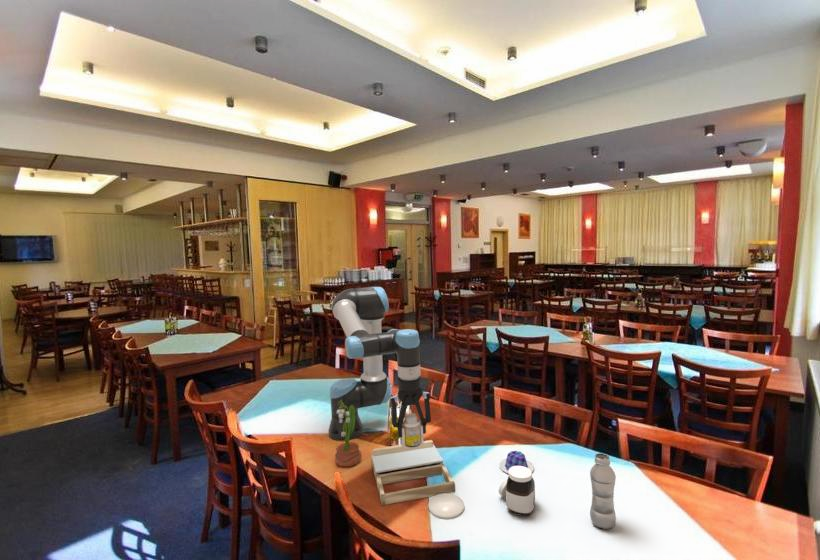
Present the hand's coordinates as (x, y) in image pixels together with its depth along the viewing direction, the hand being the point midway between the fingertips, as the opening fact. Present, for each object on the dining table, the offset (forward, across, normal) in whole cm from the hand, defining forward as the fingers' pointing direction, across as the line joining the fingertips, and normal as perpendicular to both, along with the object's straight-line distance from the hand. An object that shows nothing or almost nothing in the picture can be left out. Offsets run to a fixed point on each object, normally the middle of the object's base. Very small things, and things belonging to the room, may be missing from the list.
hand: (412, 444), depth 135 cm
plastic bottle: (+15, +47, -33) cm, 60 cm away
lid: (+12, 0, +13) cm, 17 cm away
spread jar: (+15, +28, -18) cm, 37 cm away
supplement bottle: (+1, 0, 0) cm, 1 cm away
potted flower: (+16, -21, +23) cm, 35 cm away
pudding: (+16, +38, +1) cm, 41 cm away
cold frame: (+15, 0, +6) cm, 16 cm away
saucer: (+15, +7, -13) cm, 21 cm away
